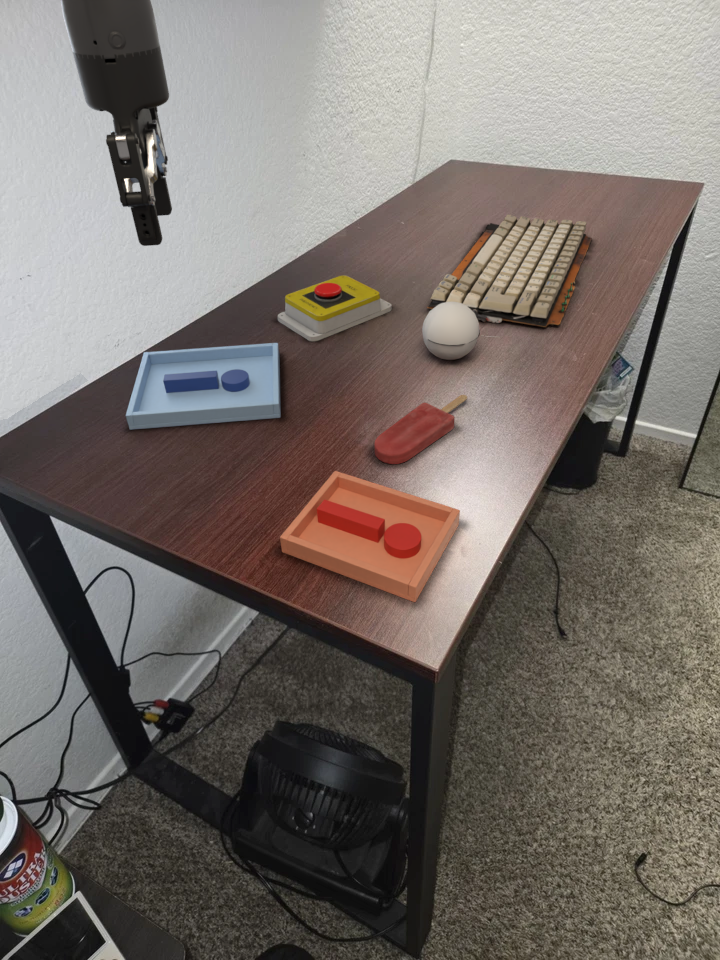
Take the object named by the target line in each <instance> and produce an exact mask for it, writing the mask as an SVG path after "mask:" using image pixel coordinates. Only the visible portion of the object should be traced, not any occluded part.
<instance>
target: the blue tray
mask: <svg viewBox="0 0 720 960" xmlns="http://www.w3.org/2000/svg"><path fill="white" fill-rule="evenodd" d="M279 348H280V347H279V342H269V343H268V342H267V343H255V344H254V343H253V344H242V345H228V346H227V345H226V346H225V345H224V346H213V347H212V346H211V347H200V348H199V347H197V348H185V349H171V350H158V351H157V350H156V351H144V352H143V354H142V357H141V361H140V365H139V368H138V372H137V375H136V378H135V382H134V385H133V389H132V392H131V396H130V399H129V402H128V406H127V409H126V413H125V418H126V419H125V420H126V422H127V426H128V428H129V430H130V431H131V430H132V431H133V430H144V429H157V428H168V427H180V426H181V427H182V426H193V425H206V424H218V423H233V422H244V421H256V420H257V421H258V420H269V419H280V418H281V417H282V414H281V368H280V367H281V365H280V363H281V362H280V359H281V358H280V349H279ZM234 369H240V370H244V371H246V372H247V373H248V375H249V381H250V384H249V386H248V387H247V388H246V389H244V390H242V391H238V392H230V391H226V390H225V389H224V388H223V387H222V382H221V376H222V375H223V374H224V373H225V372H227V371H230V370H234ZM204 371H217V373H218V378H219V389H212V390H199V391H186V392H173V393H166V390H165V386H164V382H163V380H164V375H165V374H177V373H191V372H204Z"/></svg>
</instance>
